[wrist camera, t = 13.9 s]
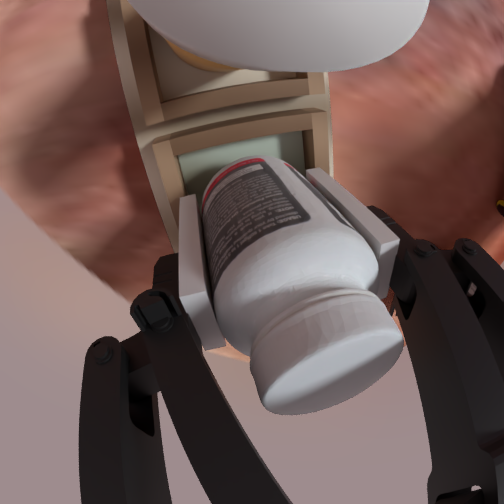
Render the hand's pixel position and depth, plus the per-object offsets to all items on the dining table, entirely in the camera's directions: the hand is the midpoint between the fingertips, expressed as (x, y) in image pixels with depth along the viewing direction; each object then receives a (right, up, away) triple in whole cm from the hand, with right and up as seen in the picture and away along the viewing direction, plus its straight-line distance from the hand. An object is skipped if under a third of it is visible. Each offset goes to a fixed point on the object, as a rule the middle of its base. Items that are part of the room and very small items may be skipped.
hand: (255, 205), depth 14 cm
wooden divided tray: (-1, +5, 0) cm, 5 cm away
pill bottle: (0, 0, 0) cm, 1 cm away
